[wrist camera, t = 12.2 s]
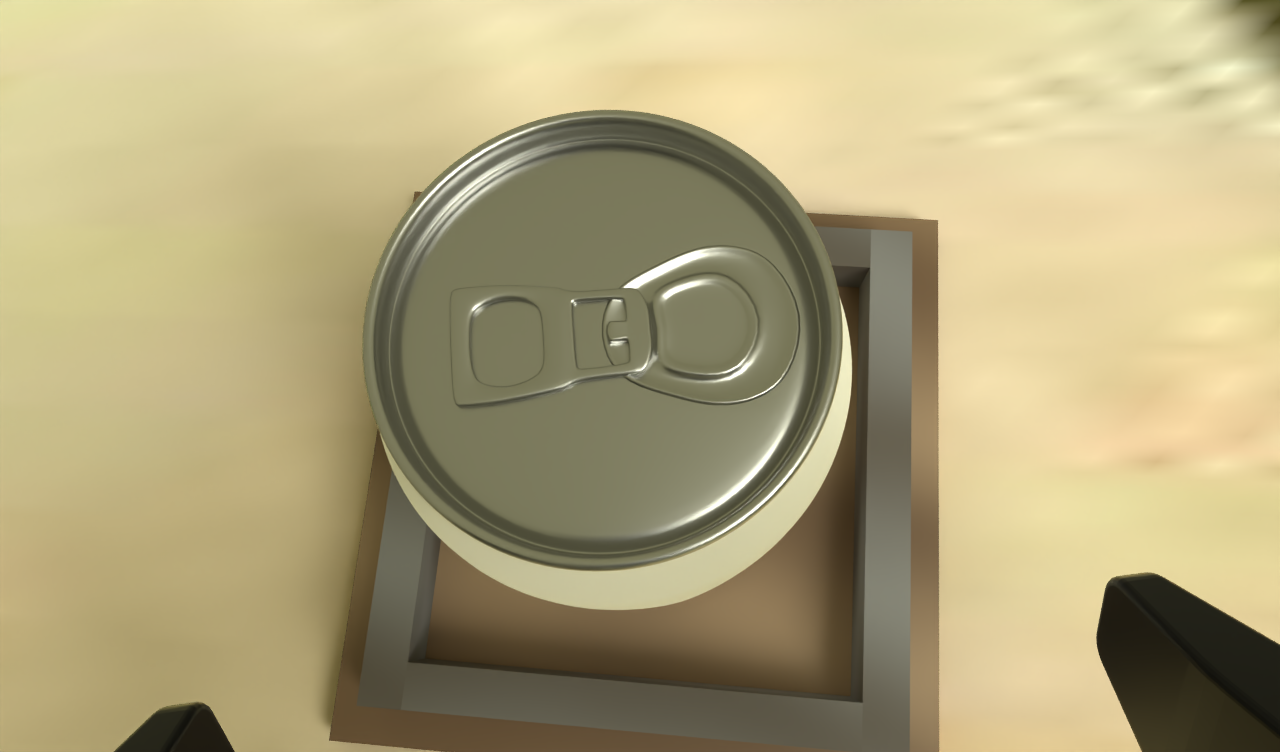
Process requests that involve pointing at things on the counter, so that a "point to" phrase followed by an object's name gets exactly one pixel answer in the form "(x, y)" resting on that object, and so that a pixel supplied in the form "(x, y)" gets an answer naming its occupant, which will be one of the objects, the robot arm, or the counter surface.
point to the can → (608, 359)
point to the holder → (711, 622)
